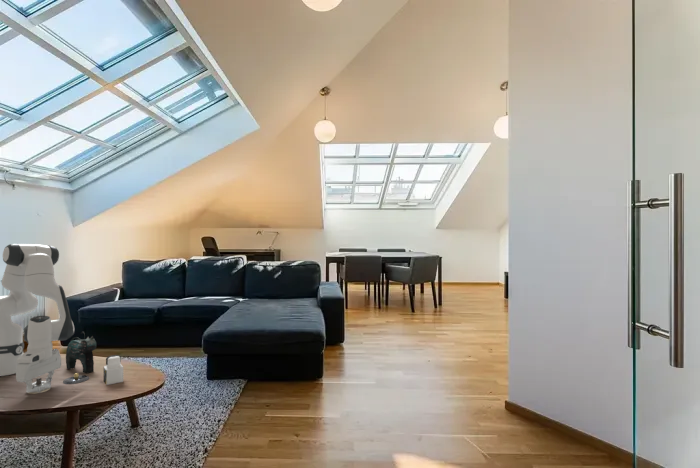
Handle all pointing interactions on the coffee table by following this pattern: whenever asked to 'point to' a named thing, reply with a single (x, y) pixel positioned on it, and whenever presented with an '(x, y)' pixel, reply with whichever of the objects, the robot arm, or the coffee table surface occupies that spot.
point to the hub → (76, 379)
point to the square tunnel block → (39, 387)
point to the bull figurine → (81, 353)
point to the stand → (38, 382)
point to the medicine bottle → (113, 370)
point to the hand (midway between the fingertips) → (40, 385)
